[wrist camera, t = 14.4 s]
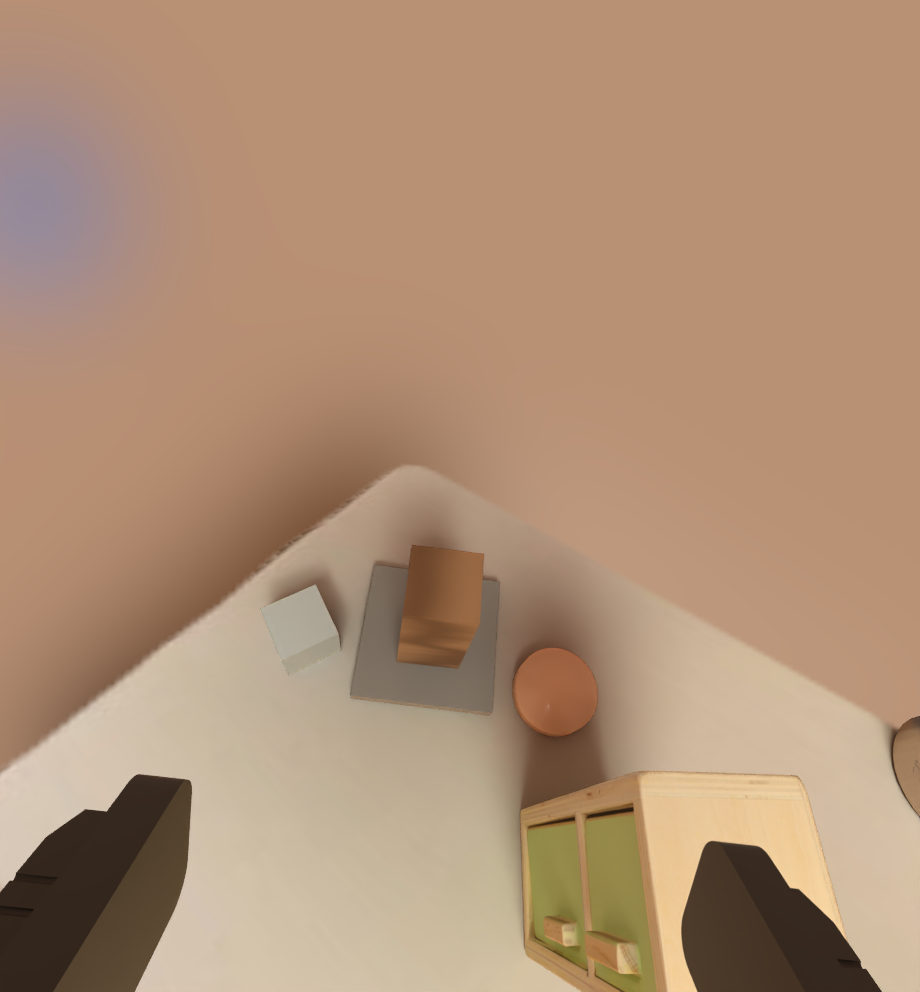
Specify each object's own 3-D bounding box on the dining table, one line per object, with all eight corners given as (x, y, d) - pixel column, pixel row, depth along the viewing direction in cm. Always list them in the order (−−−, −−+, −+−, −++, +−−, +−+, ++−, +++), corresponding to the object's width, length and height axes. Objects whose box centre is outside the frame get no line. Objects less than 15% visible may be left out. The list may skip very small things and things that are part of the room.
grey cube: (319, 604, 44) (315, 584, 41) (341, 650, 43) (338, 633, 39) (268, 627, 43) (260, 608, 40) (288, 676, 41) (281, 660, 38)
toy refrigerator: (507, 804, 39) (621, 767, 21) (612, 808, 40) (809, 774, 22) (510, 955, 35) (656, 1067, 17) (628, 955, 35) (887, 1063, 18)
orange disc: (574, 645, 45) (580, 640, 44) (603, 725, 42) (610, 721, 41) (502, 662, 44) (506, 657, 42) (526, 746, 41) (531, 742, 40)
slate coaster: (497, 586, 47) (499, 581, 46) (489, 715, 42) (492, 712, 41) (374, 569, 46) (374, 564, 45) (350, 698, 41) (350, 695, 40)
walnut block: (462, 610, 44) (483, 553, 36) (458, 668, 42) (479, 623, 34) (404, 603, 44) (411, 545, 36) (396, 662, 42) (402, 614, 33)
